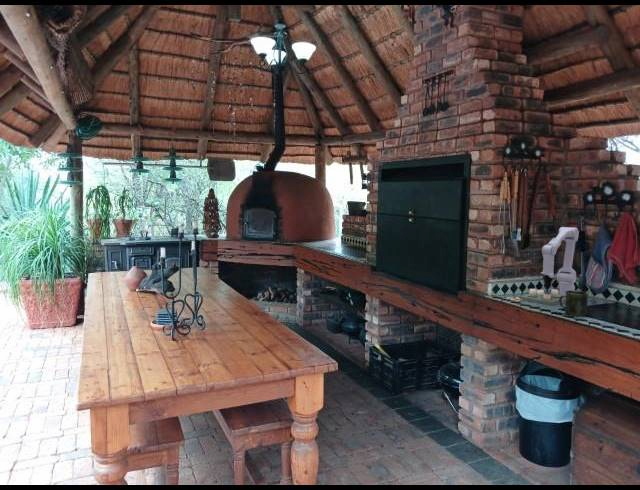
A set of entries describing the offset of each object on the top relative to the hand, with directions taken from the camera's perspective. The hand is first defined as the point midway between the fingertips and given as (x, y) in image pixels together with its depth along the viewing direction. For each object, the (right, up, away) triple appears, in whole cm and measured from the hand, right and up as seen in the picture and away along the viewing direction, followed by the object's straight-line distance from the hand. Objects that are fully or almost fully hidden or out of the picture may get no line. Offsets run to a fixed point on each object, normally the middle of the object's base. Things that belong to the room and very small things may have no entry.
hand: (547, 287), depth 301 cm
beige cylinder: (+2, -7, +13) cm, 15 cm away
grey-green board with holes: (+1, -8, +7) cm, 11 cm away
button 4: (-6, -6, +8) cm, 11 cm away
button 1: (+7, -6, +6) cm, 11 cm away
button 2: (0, -9, +1) cm, 9 cm away
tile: (-15, -8, +10) cm, 20 cm away
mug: (+1, -12, -28) cm, 30 cm away
